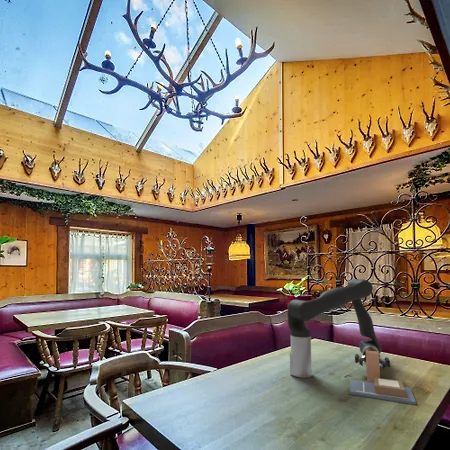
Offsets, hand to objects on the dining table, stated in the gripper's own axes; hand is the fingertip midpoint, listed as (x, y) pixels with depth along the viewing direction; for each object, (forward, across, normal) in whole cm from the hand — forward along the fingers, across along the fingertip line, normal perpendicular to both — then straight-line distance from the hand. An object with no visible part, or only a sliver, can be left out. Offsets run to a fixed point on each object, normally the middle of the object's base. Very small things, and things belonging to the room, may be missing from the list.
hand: (372, 364), depth 132 cm
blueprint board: (+11, +2, +7) cm, 13 cm away
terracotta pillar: (-1, 0, +7) cm, 7 cm away
